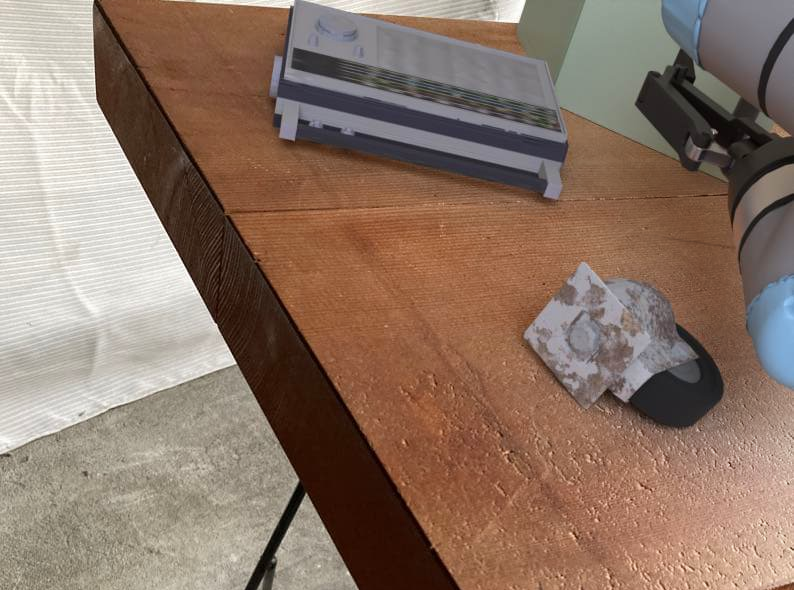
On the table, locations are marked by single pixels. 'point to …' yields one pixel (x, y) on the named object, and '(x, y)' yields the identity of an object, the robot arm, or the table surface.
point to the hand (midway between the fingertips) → (758, 88)
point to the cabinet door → (631, 72)
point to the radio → (418, 99)
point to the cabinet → (548, 30)
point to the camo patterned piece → (625, 348)
